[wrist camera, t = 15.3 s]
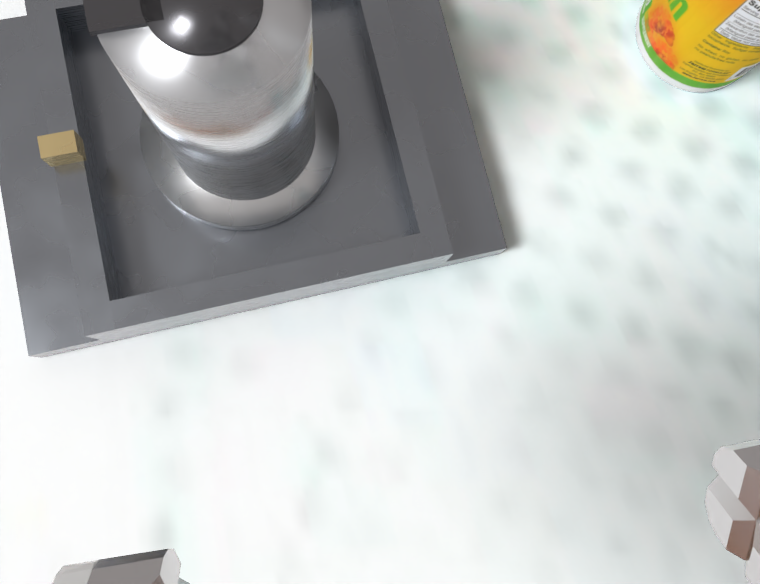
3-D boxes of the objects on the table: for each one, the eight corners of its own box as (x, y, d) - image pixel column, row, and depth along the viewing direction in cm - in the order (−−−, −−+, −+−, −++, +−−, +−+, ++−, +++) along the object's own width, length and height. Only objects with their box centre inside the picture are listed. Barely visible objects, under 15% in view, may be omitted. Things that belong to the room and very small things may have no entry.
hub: (298, 53, 24) (286, -115, 16) (329, 184, 23) (332, 77, 15) (155, 78, 23) (66, -84, 15) (182, 214, 23) (105, 118, 15)
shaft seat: (421, -33, 27) (434, -91, 24) (499, 253, 25) (525, 233, 22) (-13, 39, 25) (-64, -15, 21) (41, 357, 23) (-6, 352, 20)
